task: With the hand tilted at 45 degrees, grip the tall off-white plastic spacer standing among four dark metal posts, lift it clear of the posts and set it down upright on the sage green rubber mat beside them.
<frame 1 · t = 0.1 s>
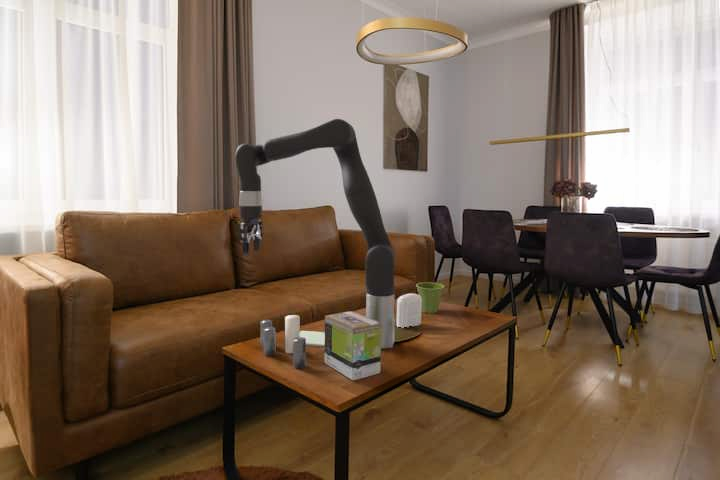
hand: (251, 252, 150), 29 cm above the table, tool pointing down, fingers open, 8 cm apart
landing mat: (312, 339, 149), on the table
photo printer: (408, 326, 165), on the table
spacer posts: (292, 350, 138), on the table
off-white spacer: (292, 350, 138), on the table
tea box: (351, 368, 125), on the table
plant pot: (429, 311, 185), on the table
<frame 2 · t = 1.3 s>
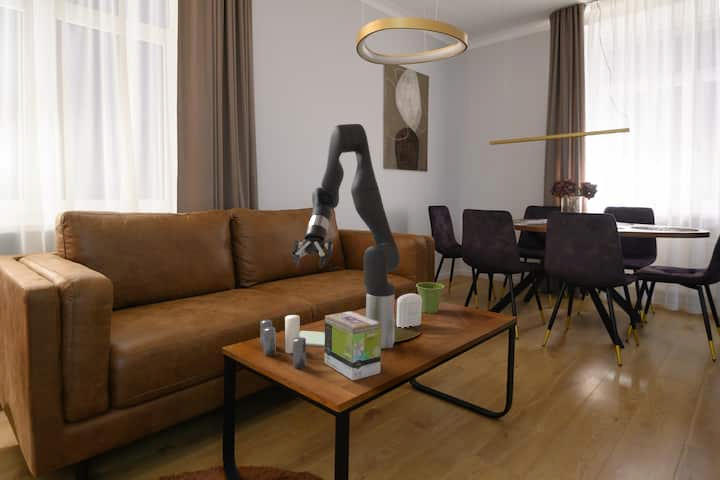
hand: (308, 266, 151), 24 cm above the table, tool tilted 45°, fingers open, 8 cm apart
nothing on the table moved.
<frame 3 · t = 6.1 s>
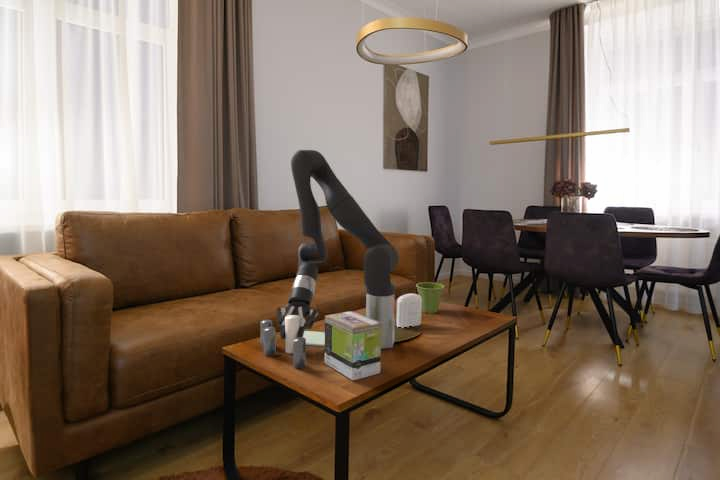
hand: (290, 338, 135), 5 cm above the table, tool tilted 45°, fingers closed on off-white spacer, 4 cm apart
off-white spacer: (292, 350, 138), on the table, touching gripper
everything else where it was.
when the fingers open (7 cm above the table, at t = 13.7 s): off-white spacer drops 2 cm, resting on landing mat.
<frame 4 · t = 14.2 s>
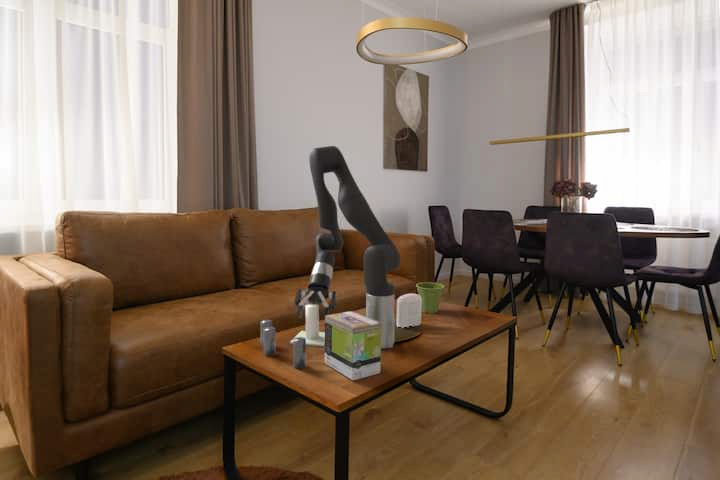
hand: (311, 318, 147), 8 cm above the table, tool tilted 45°, fingers open, 8 cm apart
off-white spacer: (312, 337, 149), point 1 cm above the table, touching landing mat
everything else where it was.
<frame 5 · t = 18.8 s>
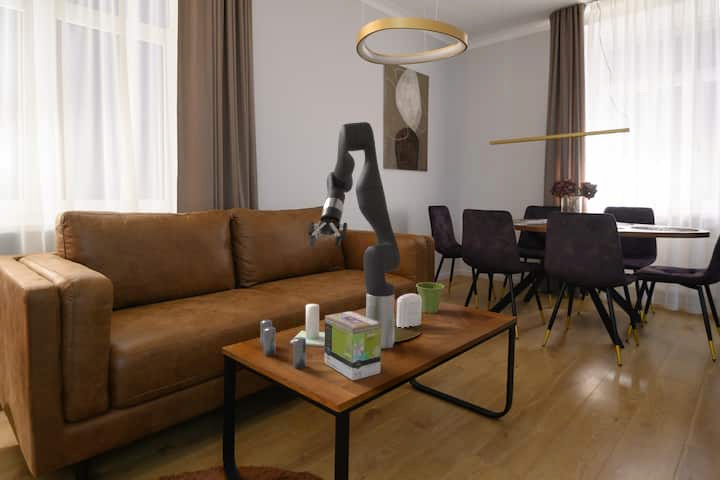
hand: (324, 246, 156), 31 cm above the table, tool tilted 45°, fingers open, 8 cm apart
nothing on the table moved.
at the end: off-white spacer inside the target area on the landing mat (0.2 cm from its centre), point 0.6 cm above the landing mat's base; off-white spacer tilted 1°; the gripper is holding nothing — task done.
